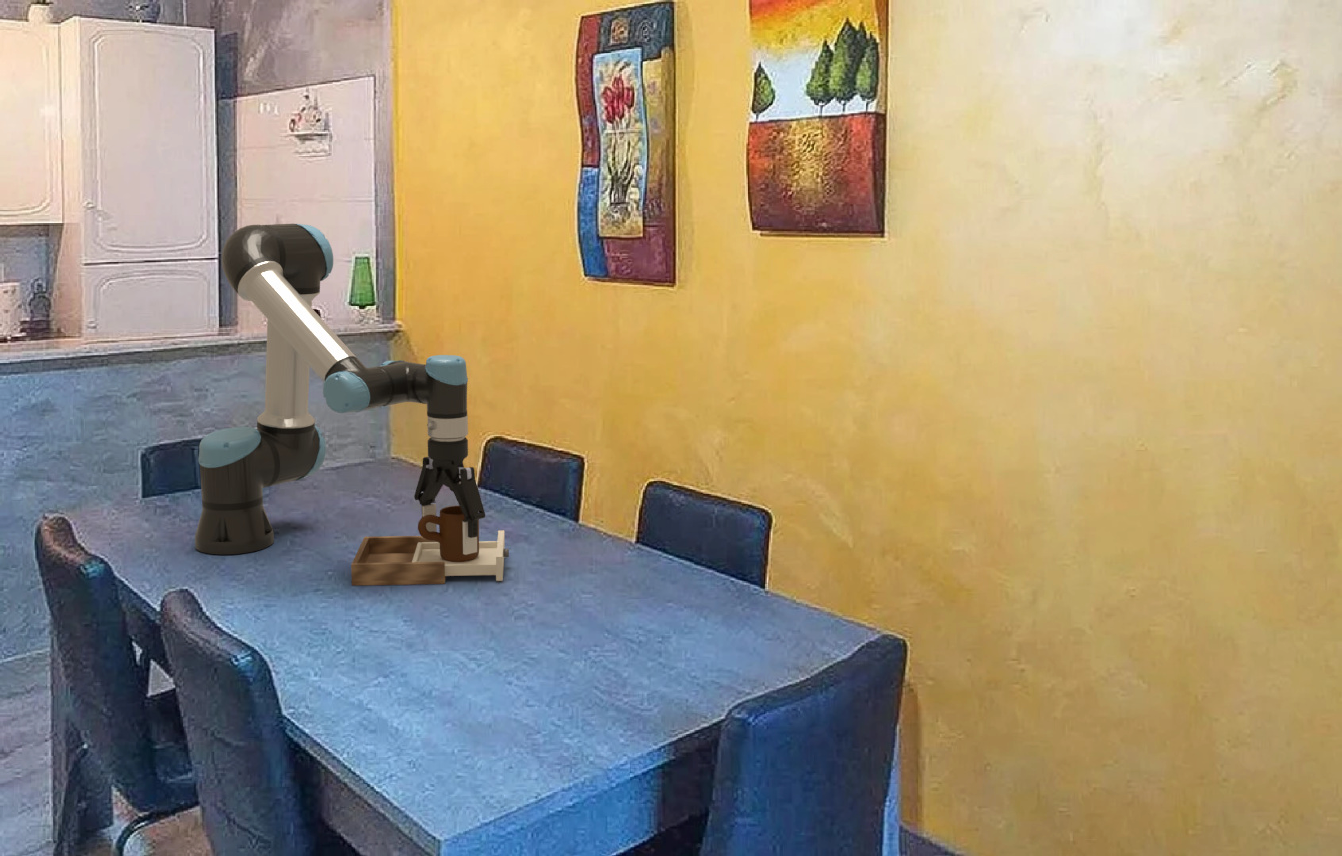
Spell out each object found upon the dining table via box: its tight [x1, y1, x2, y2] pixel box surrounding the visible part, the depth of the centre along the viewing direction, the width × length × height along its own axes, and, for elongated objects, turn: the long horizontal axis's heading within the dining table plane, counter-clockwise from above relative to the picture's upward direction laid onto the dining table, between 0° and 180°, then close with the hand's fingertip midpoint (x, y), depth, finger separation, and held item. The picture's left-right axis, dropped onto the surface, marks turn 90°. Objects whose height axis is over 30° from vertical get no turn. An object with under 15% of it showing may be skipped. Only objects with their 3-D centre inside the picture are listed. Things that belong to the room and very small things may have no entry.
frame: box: [350, 535, 447, 586], centre depth 231 cm, size 17×18×4 cm
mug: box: [417, 505, 480, 562], centre depth 232 cm, size 12×8×9 cm, turn 119°
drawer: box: [412, 530, 510, 582], centre depth 232 cm, size 18×18×5 cm
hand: (449, 545), depth 232 cm, fingers open, 13 cm apart
